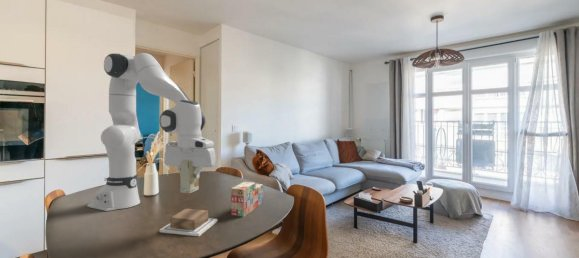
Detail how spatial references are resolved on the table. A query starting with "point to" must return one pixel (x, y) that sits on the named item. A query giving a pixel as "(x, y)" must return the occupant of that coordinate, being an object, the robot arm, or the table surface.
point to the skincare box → (188, 178)
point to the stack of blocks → (245, 198)
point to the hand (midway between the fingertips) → (189, 177)
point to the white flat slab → (190, 232)
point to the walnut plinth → (189, 219)
